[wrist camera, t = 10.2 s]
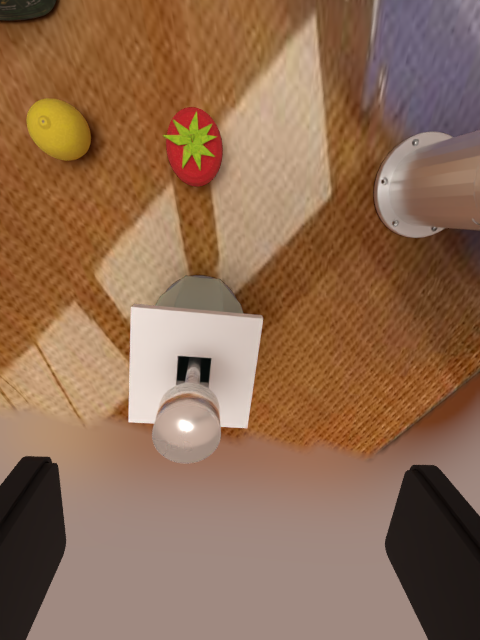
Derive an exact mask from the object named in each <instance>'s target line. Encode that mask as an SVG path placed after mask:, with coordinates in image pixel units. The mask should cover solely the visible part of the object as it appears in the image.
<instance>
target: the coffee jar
mask: <svg viewBox="0 0 480 640" xmlns="http://www.w3.org/2000/svg"><path fill="white" fill-rule="evenodd" d="M55 3H56V0H0V20H8V21H14V20H26V19H33V18H37V17H41V16H44V15H46V14H48V13H49V12H50V11H51V10H52V9H53V7H54V5H55Z"/></svg>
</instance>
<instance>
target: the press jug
mask: <svg viewBox="0 0 480 640" xmlns="http://www.w3.org/2000/svg"><path fill="white" fill-rule="evenodd" d="M262 323H263V317H262V315H253V314H243V311H242V307H241V304H240V303H239V302H238V301H237V299H236V297H235V295H234V293H233V292H232V291H231V289H230V288H229V287H228V286H227V285H225V284H224V283H223V282H222V281H221V280H220V279H215V278H213V277H209V276H204V275H193V276H187V275H186V276H185V277H184V278H182V279H180V280H178V281H177V282H175V283H174V284H172V285H171V286H170V287H169V288H168V289H167V291H166V292H165V293H164V294H163V295H162V296H160V298H159V300H158V301H157V303H156V305H155V306H154V305H143V304H133V305H132V306H131V333H130V379H129V422H138V423H155V419H156V415H157V412H158V408H159V404H160V401H161V399H162V397H163V395H164V394H165V393H166V392H167V391H168V390H169V389H170V388H172V387H174V386H176V385H178V384H182V383H185V381H186V374H187V367H188V361H189V357H201V369H200V384H201V385H203V386H205V387H207V388H208V389H210V390H211V391H212V392H213V393H214V394H215V396H216V397H217V399H218V402H219V407H220V427H236V428H247V426H248V419H249V412H250V405H251V399H252V392H253V385H254V378H255V371H256V364H257V358H258V351H259V344H260V337H261V330H262Z"/></svg>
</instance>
